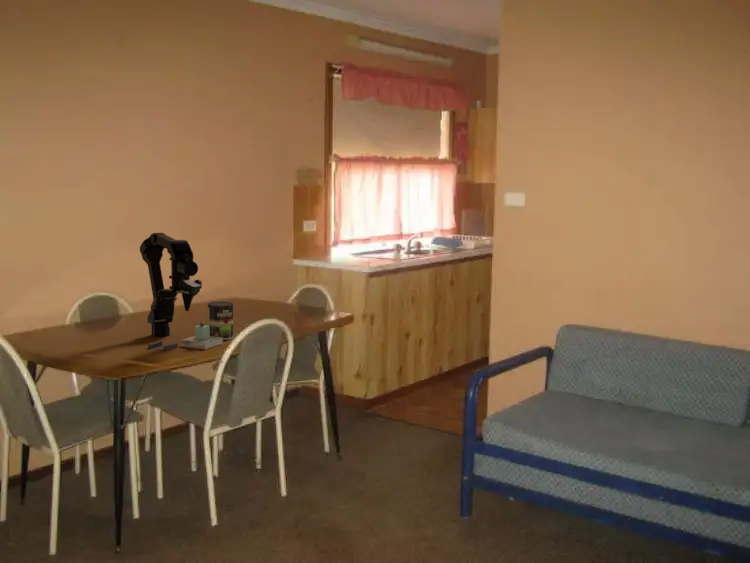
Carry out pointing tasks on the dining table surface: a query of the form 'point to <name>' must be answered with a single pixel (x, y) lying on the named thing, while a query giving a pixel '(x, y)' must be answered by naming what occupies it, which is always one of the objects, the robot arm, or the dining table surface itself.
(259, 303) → the dining table surface
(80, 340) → the dining table surface
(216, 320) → the coffee can
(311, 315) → the dining table surface
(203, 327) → the plug
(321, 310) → the dining table surface
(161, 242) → the robot arm
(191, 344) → the port
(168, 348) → the dark grey bracket
